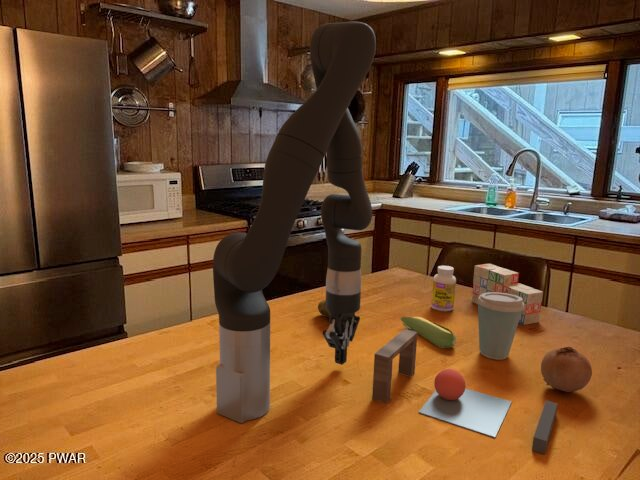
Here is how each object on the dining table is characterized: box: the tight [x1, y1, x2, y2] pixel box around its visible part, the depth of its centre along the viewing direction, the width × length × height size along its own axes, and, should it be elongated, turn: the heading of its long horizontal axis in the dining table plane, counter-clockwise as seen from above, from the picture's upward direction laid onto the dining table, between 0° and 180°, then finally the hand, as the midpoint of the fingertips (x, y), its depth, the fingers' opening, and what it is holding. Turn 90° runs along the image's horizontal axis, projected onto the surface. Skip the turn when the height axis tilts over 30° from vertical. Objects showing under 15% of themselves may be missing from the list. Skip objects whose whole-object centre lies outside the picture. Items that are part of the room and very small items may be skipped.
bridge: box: [371, 328, 418, 404], centre depth 102 cm, size 15×3×10 cm, turn 148°
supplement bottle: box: [430, 265, 457, 312], centre depth 149 cm, size 7×7×13 cm
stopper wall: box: [531, 400, 558, 455], centre depth 88 cm, size 14×2×2 cm, turn 148°
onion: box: [540, 346, 593, 393], centre depth 102 cm, size 10×9×10 cm
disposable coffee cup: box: [477, 292, 524, 361], centre depth 118 cm, size 11×11×15 cm
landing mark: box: [418, 387, 513, 439], centre depth 95 cm, size 14×14×1 cm
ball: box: [433, 368, 466, 400], centre depth 98 cm, size 6×6×6 cm
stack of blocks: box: [471, 263, 544, 326], centre depth 148 cm, size 21×6×12 cm, turn 25°
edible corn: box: [400, 316, 457, 349], centre depth 129 cm, size 5×20×5 cm, turn 28°
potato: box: [317, 299, 331, 319], centre depth 137 cm, size 8×13×8 cm, turn 15°
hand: (340, 362), depth 109 cm, fingers closed
